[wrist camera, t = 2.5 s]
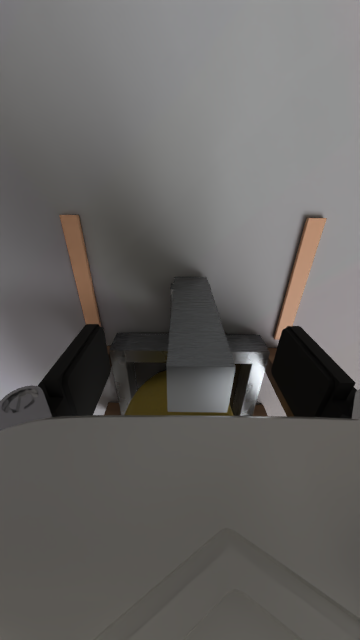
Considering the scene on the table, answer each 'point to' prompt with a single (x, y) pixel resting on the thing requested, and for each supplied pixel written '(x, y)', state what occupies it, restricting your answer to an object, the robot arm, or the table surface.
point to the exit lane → (291, 299)
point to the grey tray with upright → (194, 356)
